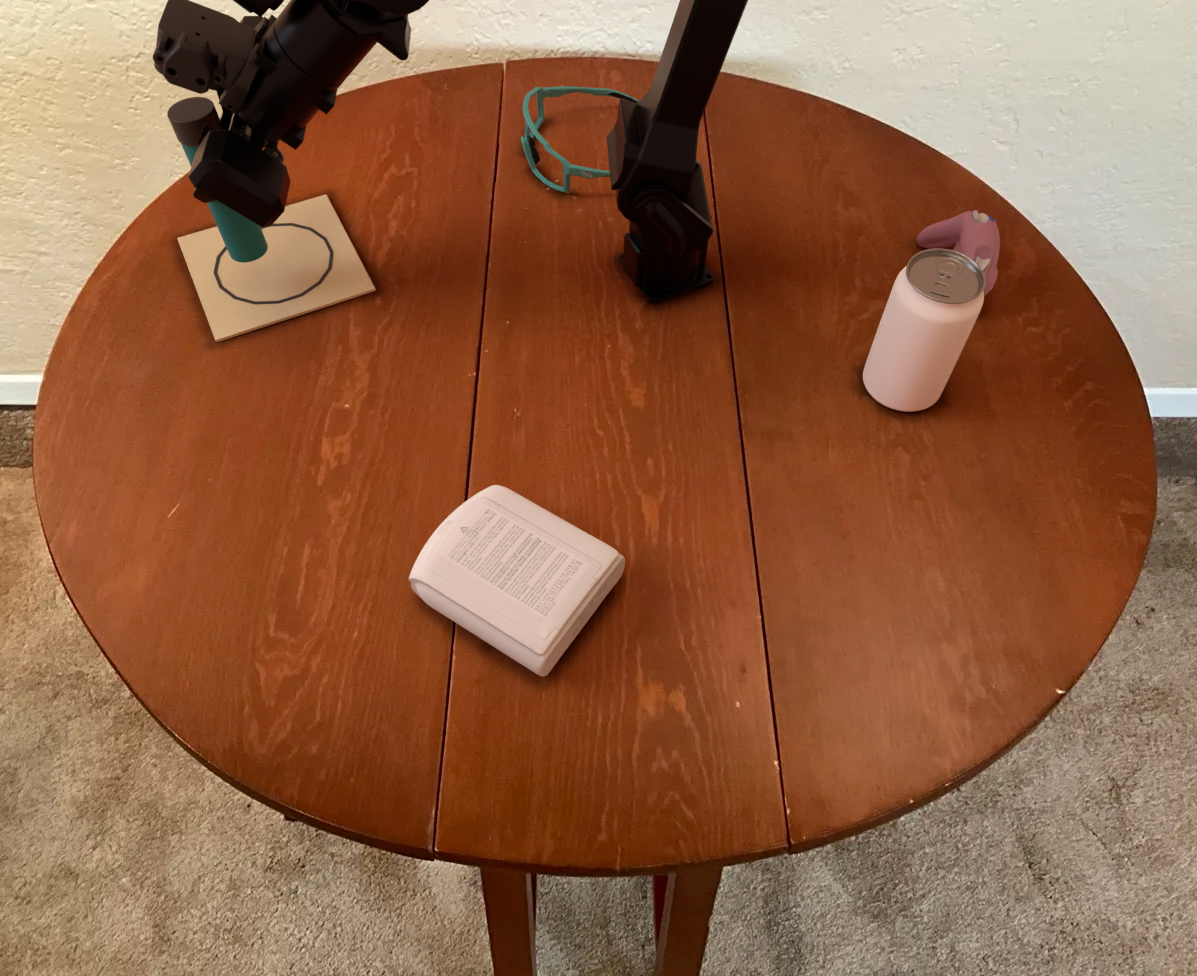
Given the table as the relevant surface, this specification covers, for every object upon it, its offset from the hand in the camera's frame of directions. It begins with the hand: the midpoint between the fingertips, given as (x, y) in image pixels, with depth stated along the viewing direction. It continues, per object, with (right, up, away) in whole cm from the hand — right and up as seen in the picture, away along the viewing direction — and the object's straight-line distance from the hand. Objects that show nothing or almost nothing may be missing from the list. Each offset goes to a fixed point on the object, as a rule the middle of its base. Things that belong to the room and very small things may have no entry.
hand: (203, 184), depth 76 cm
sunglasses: (+31, +9, +20) cm, 38 cm away
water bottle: (+2, -4, +5) cm, 7 cm away
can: (+56, -16, +3) cm, 58 cm away
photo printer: (+31, -33, -12) cm, 46 cm away
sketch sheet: (+2, -4, +10) cm, 11 cm away
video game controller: (+62, -6, +10) cm, 63 cm away
